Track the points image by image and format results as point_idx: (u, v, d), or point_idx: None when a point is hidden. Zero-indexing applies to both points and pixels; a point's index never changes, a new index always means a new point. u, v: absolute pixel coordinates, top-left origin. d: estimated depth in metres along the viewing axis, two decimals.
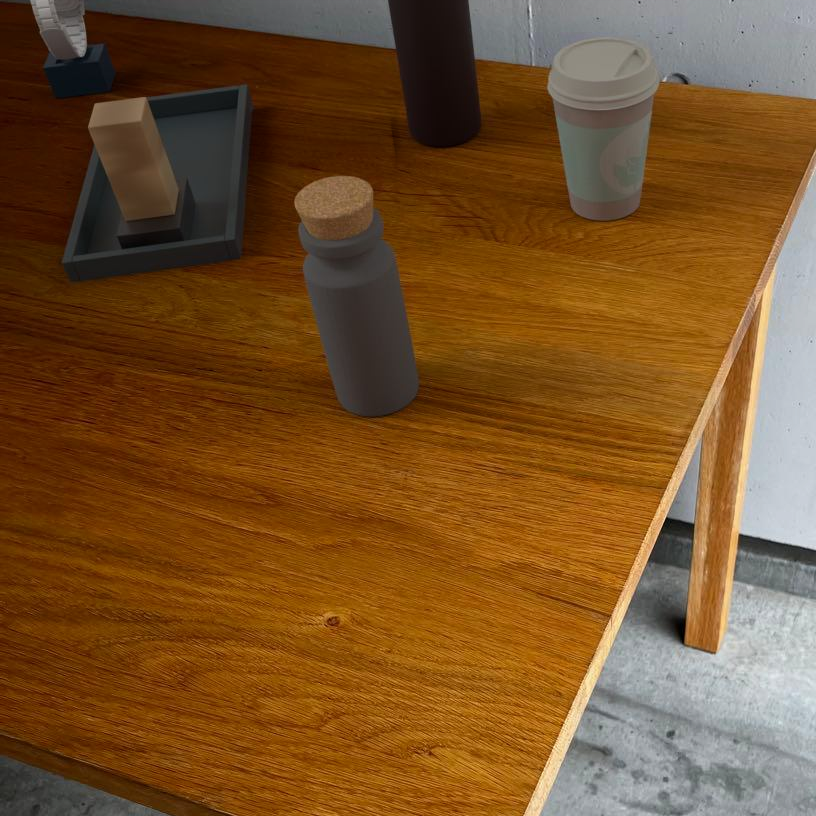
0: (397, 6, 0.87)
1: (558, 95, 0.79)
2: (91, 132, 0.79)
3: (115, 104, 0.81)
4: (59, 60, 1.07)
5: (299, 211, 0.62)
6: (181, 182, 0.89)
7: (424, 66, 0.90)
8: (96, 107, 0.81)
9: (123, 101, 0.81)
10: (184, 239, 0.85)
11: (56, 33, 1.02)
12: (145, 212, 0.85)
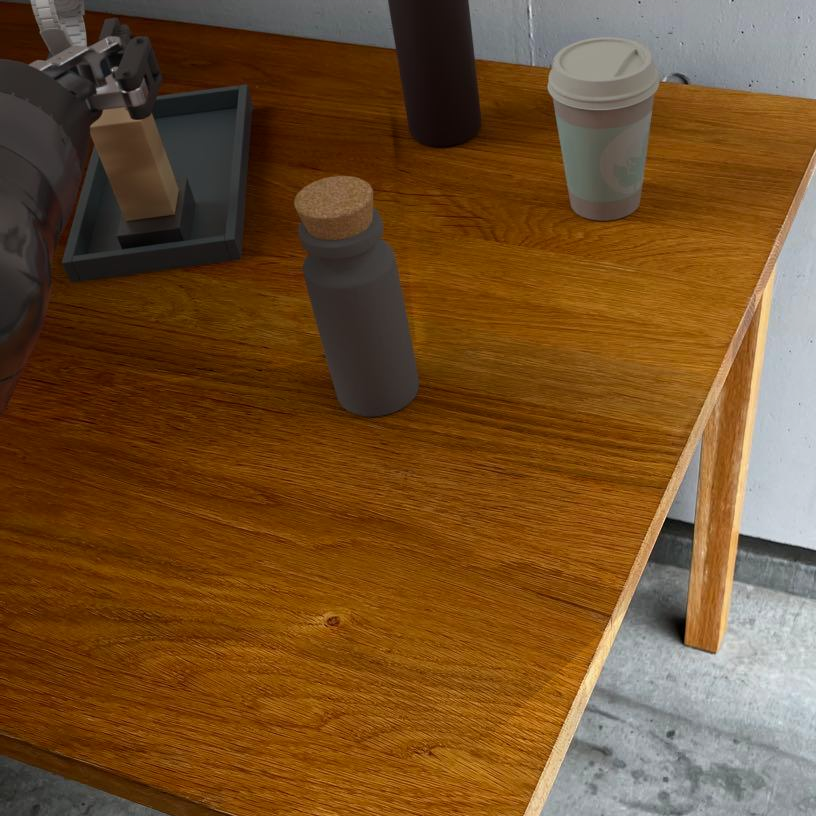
0: (397, 6, 0.87)
1: (558, 94, 0.79)
2: (91, 132, 0.79)
3: None
4: None
5: (299, 211, 0.62)
6: (181, 182, 0.89)
7: (424, 66, 0.90)
8: None
9: None
10: (184, 239, 0.85)
11: (56, 33, 1.02)
12: (145, 212, 0.85)
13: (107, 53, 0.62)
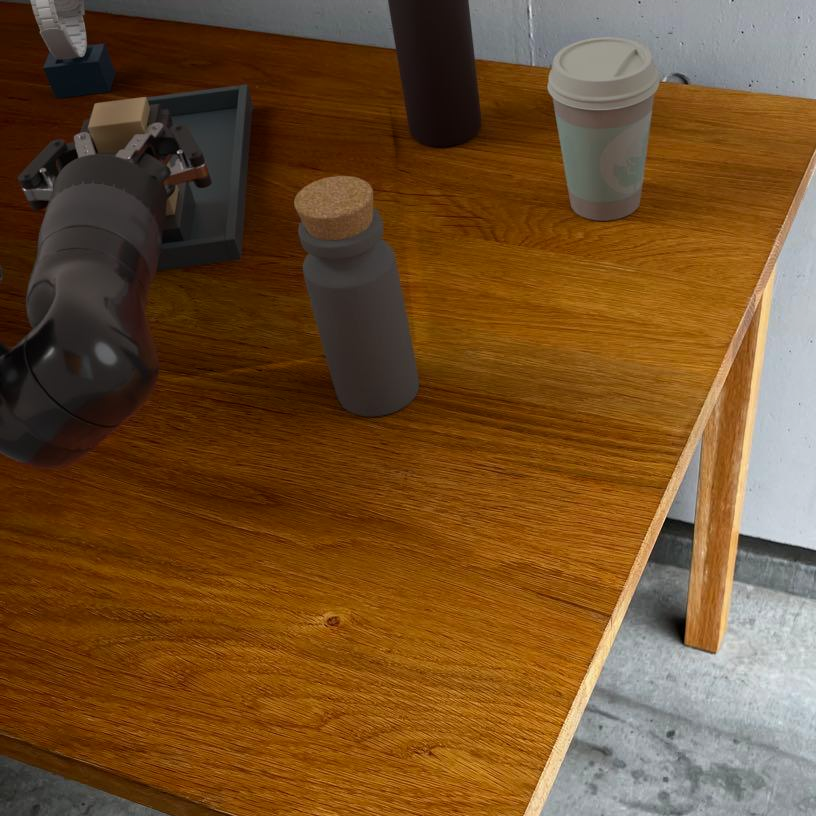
0: (397, 6, 0.87)
1: (558, 94, 0.79)
2: (91, 132, 0.79)
3: (115, 104, 0.81)
4: (59, 60, 1.07)
5: (299, 211, 0.62)
6: None
7: (424, 66, 0.90)
8: (96, 107, 0.81)
9: (123, 101, 0.81)
10: (184, 239, 0.85)
11: (56, 33, 1.02)
12: None
13: None
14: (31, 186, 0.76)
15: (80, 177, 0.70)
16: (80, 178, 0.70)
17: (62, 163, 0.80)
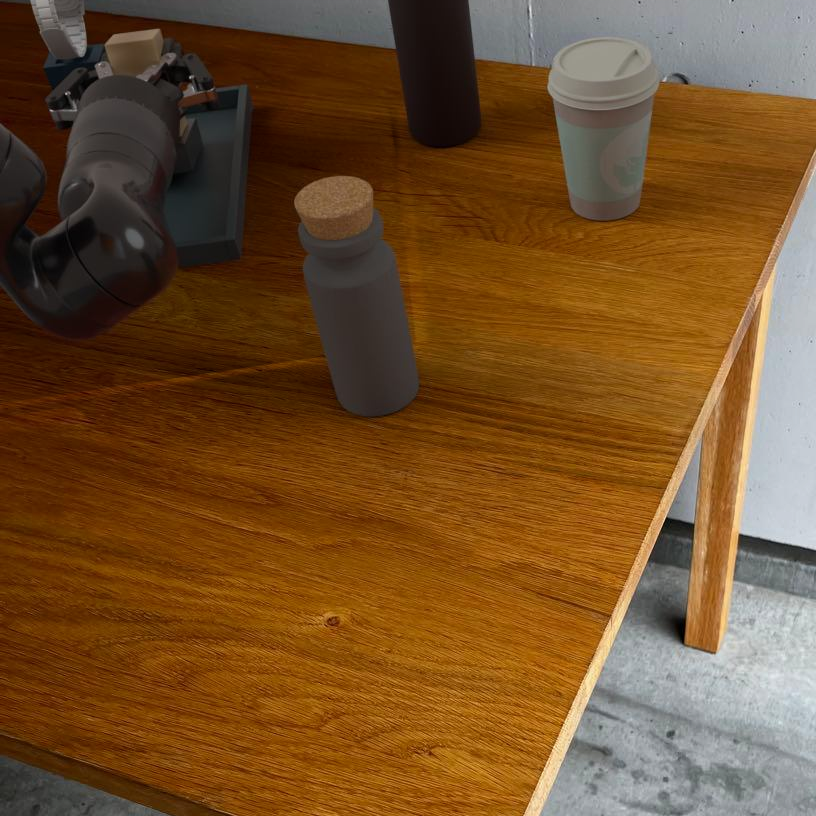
0: (397, 6, 0.87)
1: (558, 94, 0.79)
2: (107, 49, 0.87)
3: (131, 33, 0.89)
4: (59, 60, 1.07)
5: (299, 211, 0.62)
6: (190, 120, 0.96)
7: (424, 66, 0.90)
8: (114, 36, 0.89)
9: (139, 31, 0.90)
10: (188, 157, 0.91)
11: (56, 33, 1.02)
12: None
13: None
14: (57, 107, 0.84)
15: (103, 93, 0.79)
16: (104, 94, 0.78)
17: (84, 89, 0.88)
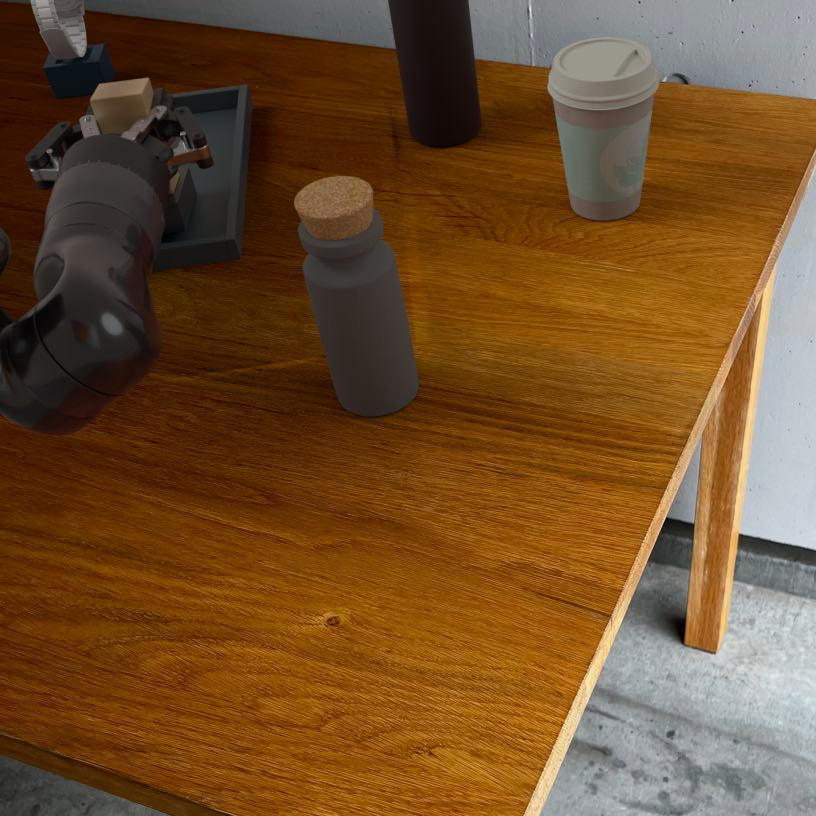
0: (397, 6, 0.87)
1: (558, 94, 0.79)
2: (93, 105, 0.81)
3: (118, 83, 0.83)
4: (59, 60, 1.07)
5: (299, 211, 0.62)
6: (183, 170, 0.90)
7: (424, 66, 0.90)
8: (100, 86, 0.83)
9: (126, 81, 0.83)
10: (181, 216, 0.85)
11: (56, 33, 1.02)
12: None
13: None
14: (38, 166, 0.78)
15: (86, 156, 0.72)
16: (86, 157, 0.72)
17: (68, 145, 0.82)
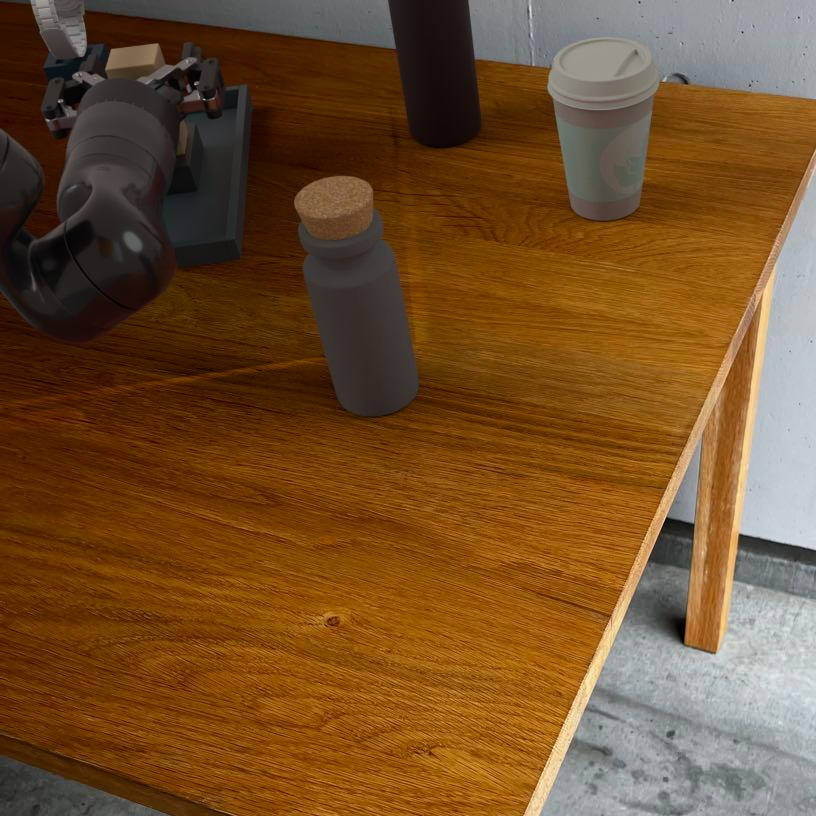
0: (397, 6, 0.87)
1: (558, 94, 0.79)
2: (108, 74, 0.86)
3: (130, 49, 0.88)
4: (59, 60, 1.07)
5: (299, 211, 0.62)
6: (190, 126, 0.95)
7: (424, 66, 0.90)
8: (113, 52, 0.88)
9: (137, 47, 0.88)
10: (193, 177, 0.92)
11: (56, 33, 1.02)
12: None
13: (188, 70, 0.87)
14: (55, 116, 0.84)
15: (103, 96, 0.78)
16: (103, 97, 0.78)
17: (64, 99, 0.87)
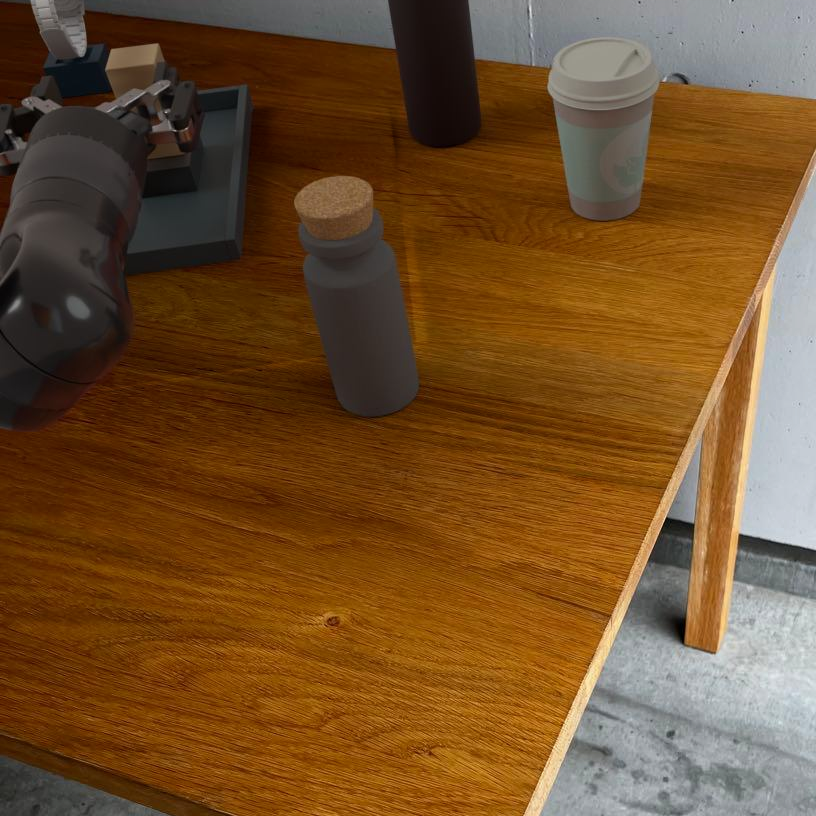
0: (397, 6, 0.87)
1: (558, 94, 0.79)
2: (108, 74, 0.86)
3: (130, 49, 0.88)
4: (59, 60, 1.07)
5: (299, 211, 0.62)
6: None
7: (424, 66, 0.90)
8: (113, 52, 0.88)
9: (137, 47, 0.88)
10: (193, 177, 0.92)
11: (56, 33, 1.02)
12: (157, 152, 0.91)
13: (160, 95, 0.76)
14: (3, 149, 0.72)
15: (55, 128, 0.67)
16: (55, 129, 0.67)
17: (12, 128, 0.76)
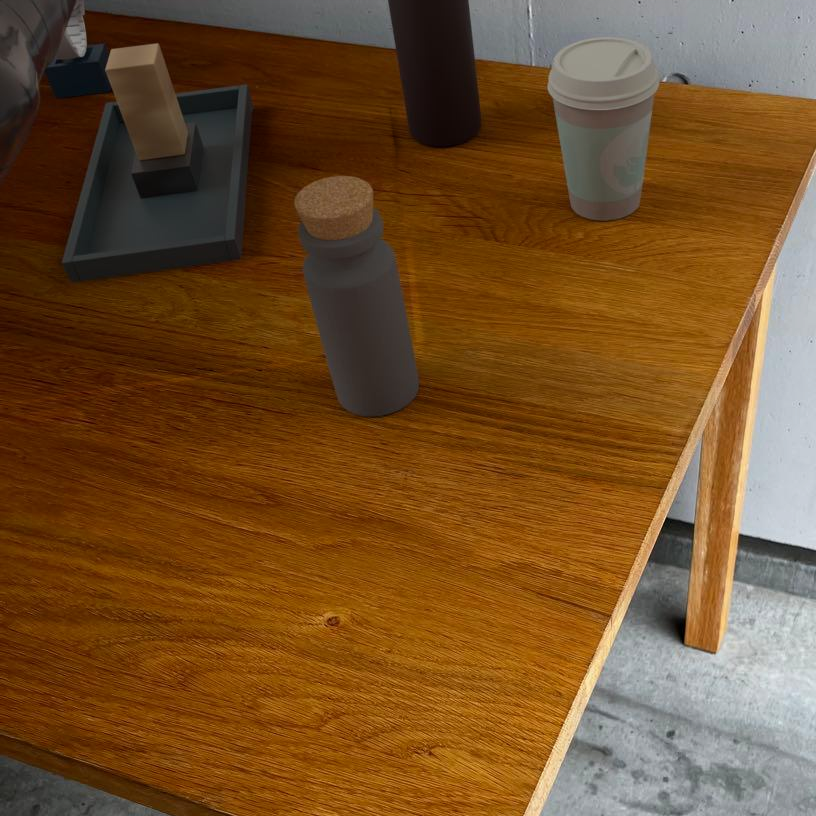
0: (397, 6, 0.87)
1: (558, 94, 0.79)
2: (108, 74, 0.86)
3: (130, 49, 0.88)
4: (59, 60, 1.07)
5: (299, 211, 0.62)
6: (190, 126, 0.95)
7: (424, 66, 0.90)
8: (113, 52, 0.88)
9: (137, 47, 0.88)
10: (193, 177, 0.92)
11: None
12: (157, 152, 0.91)
13: None
14: None
15: None
16: None
17: None
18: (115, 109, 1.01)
